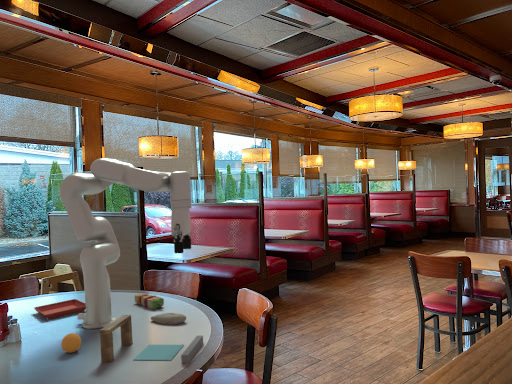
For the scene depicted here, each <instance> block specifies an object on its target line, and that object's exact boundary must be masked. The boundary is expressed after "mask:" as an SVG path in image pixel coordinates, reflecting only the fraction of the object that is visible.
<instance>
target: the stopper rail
mask: <svg viewBox="0 0 512 384" xmlns="http://www.w3.org/2000/svg"><path fill="white" fill-rule="evenodd" d="M203 344H204V335H196V336H195V337H194V338H193V340H192V341H191V343H189V345H188V346H187V347H186V349H184V351H183V352H182V353H181V356H180V357H181V359H180V360H181V364H184V365H185V364H189V363H190V362H191V361H192V359H193V358H194V356H195V355H196V354H197V352H198V351H199V349H201V347H202V346H203Z"/></svg>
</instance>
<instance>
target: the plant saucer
mask: <svg viewBox="0 0 512 384" xmlns="http://www.w3.org/2000/svg"><path fill="white" fill-rule="evenodd" d="M33 309H34V311H36V312H37V314H40V315H41V316H42V317H43V318H45V319H46V320H53V319H58V318H63V317H66V316H71V315H74V314H79V313H83V312H85V311H86V308H85V301H81V300H79V299H77V298H72V299H68V300H63V301H58V302H54V303H50V304H45V305H39V306H36V307H33Z"/></svg>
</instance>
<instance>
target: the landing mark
mask: <svg viewBox="0 0 512 384" xmlns="http://www.w3.org/2000/svg"><path fill="white" fill-rule="evenodd" d="M183 347H185V344H148V345H147V346H146V347H145V348H144V349H143V350H141V352H140V353H139V354H137V355H136V357H134V358H133V361H163V362H164V361H172V360H173V359H174V358H175V357H176V355H177V354H178V353H179V352H180V350H181V349H182V348H183Z"/></svg>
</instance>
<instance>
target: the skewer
mask: <svg viewBox="0 0 512 384" xmlns="http://www.w3.org/2000/svg"><path fill="white" fill-rule="evenodd" d="M134 303H136V304H138V305H141V306H143V307H145V308H148V309H153V310H155V309H159V308H162V307H163V306H164V305H165V300H164V297H161V296H157V295H153V294H148V293H138V294H135V295H134Z"/></svg>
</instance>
